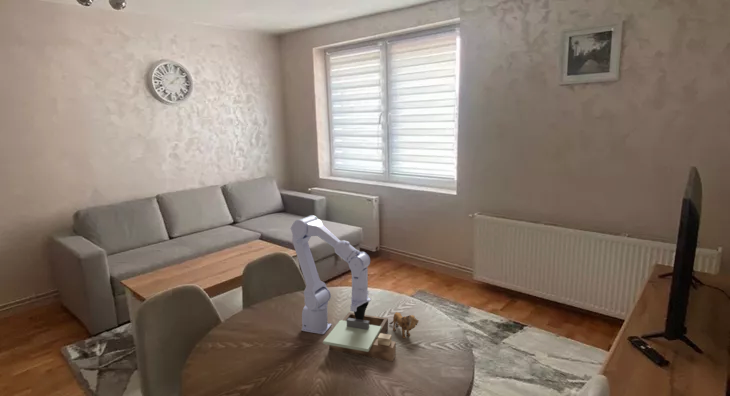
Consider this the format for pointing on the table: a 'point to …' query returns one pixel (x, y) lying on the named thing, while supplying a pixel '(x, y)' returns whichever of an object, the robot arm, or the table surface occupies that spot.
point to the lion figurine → (404, 323)
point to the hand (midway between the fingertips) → (359, 321)
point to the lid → (353, 334)
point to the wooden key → (384, 339)
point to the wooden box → (376, 349)
